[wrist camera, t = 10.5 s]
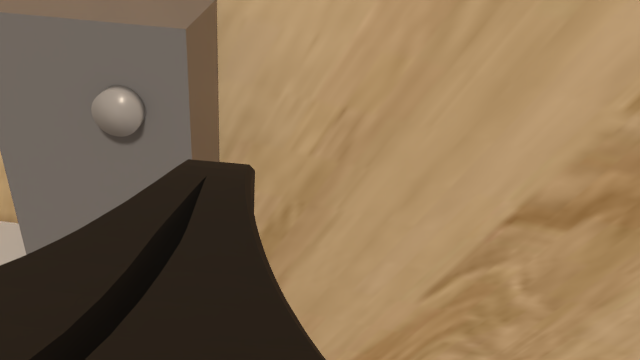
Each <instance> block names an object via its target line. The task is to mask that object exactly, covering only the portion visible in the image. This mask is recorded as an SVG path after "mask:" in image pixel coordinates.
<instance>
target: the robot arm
mask: <svg viewBox="0 0 640 360" xmlns="http://www.w3.org/2000/svg"><path fill="white" fill-rule="evenodd" d="M254 183H255V170H254V169H253V168H252V167H251V166H250V165H247V164H235V163H224V162H213V161H202V160H191V159H188V160H186V161H185V162H183V163H182V164H180V165H178V166H177V167H176V168H174V169H173V170H171V171H170V172H168V173H167V174H165V175H164V176H163V177H161V178H160V179H158V180H157V181H155V182H154V183H152V184H151V185H149V186H148V187H146V188H145V189H143V190H142V191H140V192H139V193H137V194H136V195H134V196H133V197H132V198H130V199H129V200H127V201H125V202H124V203H122V204H121V205H119V206H117V207H116V208H114V209H112V210H111V211H109V212H107V213H105V214H104V215H102V216H100V217H99V218H97V219H95V220H94V221H92V222H90V223H89V224H87V225H85V226H84V227H82V228H80V229H78V230H76V231H74V232H73V233H71V234H69V235H67V236H65V237H63V238H61V239H59V240H57V241H55V242H53V243H50V244H48V245H46V246H44V247H42V248H40V249H38V250H36V251H34V252H31V253H29V254H27V255H25V256H22V257H20V258H18V259H15V260H13V261H10V262H7V263H5V264H2V265H0V360H326V359H325V358H324V357H323V356H322V354H321V353H320V351H319V350H318V349H317V347H316V346H315V345H314V343H313V342H312V340H311V339H310V338H309V336H308V335H307V333H306V332H305V330H304V329H303V327H302V325H301V324H300V322H299V320H298V319H297V317H296V315H295V314H294V312H293V311H292V309H291V307H290V306H289V304H288V302H287V301H286V299H285V297H284V295H283V293H282V291H281V289H280V287H279V285H278V283H277V281H276V279H275V277H274V274H273V272H272V270H271V267H270V265H269V263H268V260H267V257H266V255H265V252H264V249H263V246H262V243H261V240H260V236H259V233H258V229H257V226H256V221H255V216H254Z"/></svg>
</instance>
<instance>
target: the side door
mask: <svg viewBox="0 0 640 360" xmlns="http://www.w3.org/2000/svg"><path fill="white" fill-rule="evenodd" d="M25 255H26V251H25V247H24V243H23V239H22V235H21V231H20V227H19V223H12V222H3V221H0V265H2V264H5V263H7V262H10V261H13V260H15V259H18V258H20V257H22V256H25Z"/></svg>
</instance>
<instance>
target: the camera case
mask: <svg viewBox="0 0 640 360" xmlns="http://www.w3.org/2000/svg"><path fill="white" fill-rule="evenodd" d="M0 151H1V155H2V159H3V163H4V167H5V171H6V175H7V179H8V183H9V187H10V191H11V195H12V199H13V203H14V207H15V211H16V215H17V219H18V223H19V227H20V231H21V235H22V239H23V243H24V247H25V251H26V255H27V254H29V253H31V252H34V251H36V250H38V249H40V248H42V247H44V246H46V245H48V244H50V243H53V242H55V241H57V240H59V239H61V238H63V237H65V236H67V235H69V234H71V233H73V232H74V231H76V230H78V229H80V228H82V227H84V226H85V225H87V224H89V223H90V222H92V221H94V220H95V219H97V218H99V217H100V216H102V215H104V214H105V213H107V212H109V211H111V210H112V209H114V208H116V207H117V206H119V205H121V204H122V203H124V202H125V201H127V200H129V199H130V198H132V197H133V196H134V195H136V194H137V193H139V192H140V191H142V190H143V189H145V188H146V187H148V186H149V185H151V184H152V183H154V182H155V181H157V180H158V179H160V178H161V177H163V176H164V175H165V174H167V173H168V172H170V171H171V170H173V169H174V168H176V167H177V166H178V165H180V164H182V163H183V162H185V161H186V160H188V159H191V160H202V161H213V162H219V117H218V58H217V0H0Z"/></svg>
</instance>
